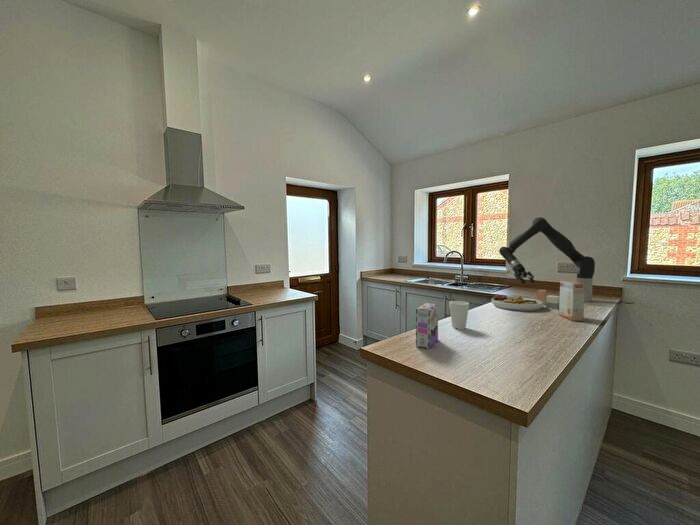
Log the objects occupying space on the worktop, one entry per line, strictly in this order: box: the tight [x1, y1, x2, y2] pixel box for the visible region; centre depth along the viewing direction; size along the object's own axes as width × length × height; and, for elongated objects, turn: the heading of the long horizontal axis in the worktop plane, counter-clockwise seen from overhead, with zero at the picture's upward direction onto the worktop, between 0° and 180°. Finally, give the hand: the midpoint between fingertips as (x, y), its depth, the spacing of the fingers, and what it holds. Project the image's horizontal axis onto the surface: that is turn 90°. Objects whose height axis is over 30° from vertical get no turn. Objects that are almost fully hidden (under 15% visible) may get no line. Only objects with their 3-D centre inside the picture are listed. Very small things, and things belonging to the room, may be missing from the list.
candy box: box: [415, 302, 439, 350], centre depth 124 cm, size 14×6×16 cm, turn 148°
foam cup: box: [448, 300, 470, 330], centre depth 147 cm, size 10×9×13 cm
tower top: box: [546, 294, 560, 304], centre depth 191 cm, size 6×6×4 cm
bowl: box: [491, 293, 544, 312], centre depth 195 cm, size 30×30×8 cm
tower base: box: [545, 302, 560, 310], centre depth 191 cm, size 6×6×4 cm
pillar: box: [536, 289, 548, 306], centre depth 203 cm, size 4×4×10 cm
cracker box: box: [558, 280, 585, 322], centre depth 163 cm, size 14×6×21 cm, turn 168°
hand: (529, 283), depth 213 cm, fingers open, 8 cm apart
